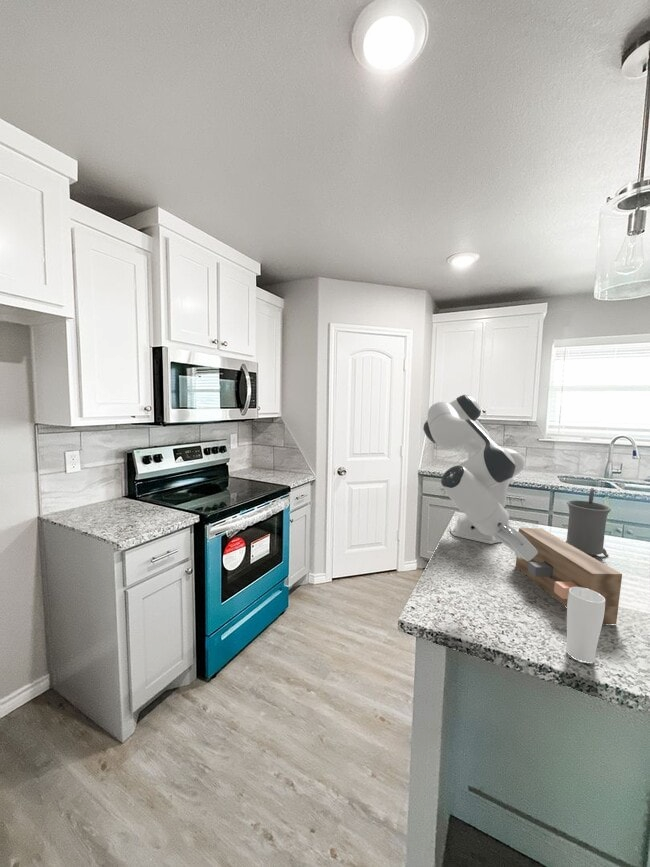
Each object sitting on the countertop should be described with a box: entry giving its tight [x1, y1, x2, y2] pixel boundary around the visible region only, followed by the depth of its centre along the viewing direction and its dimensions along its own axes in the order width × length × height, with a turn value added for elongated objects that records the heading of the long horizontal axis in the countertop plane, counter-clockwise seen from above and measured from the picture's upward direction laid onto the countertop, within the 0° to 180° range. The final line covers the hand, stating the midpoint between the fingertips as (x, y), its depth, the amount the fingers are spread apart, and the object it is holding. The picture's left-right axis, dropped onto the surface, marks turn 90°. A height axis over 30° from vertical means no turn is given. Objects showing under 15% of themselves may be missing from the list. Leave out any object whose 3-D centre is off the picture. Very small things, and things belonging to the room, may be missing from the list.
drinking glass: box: [565, 587, 605, 662], centre depth 81 cm, size 7×7×15 cm
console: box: [515, 527, 623, 625], centre depth 110 cm, size 8×33×14 cm, turn 2°
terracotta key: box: [554, 582, 581, 599], centre depth 98 cm, size 6×4×3 cm, turn 92°
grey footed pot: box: [565, 487, 612, 558], centre depth 140 cm, size 19×15×25 cm
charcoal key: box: [528, 562, 553, 577], centre depth 110 cm, size 6×4×3 cm, turn 92°
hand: (523, 554), depth 97 cm, fingers closed
